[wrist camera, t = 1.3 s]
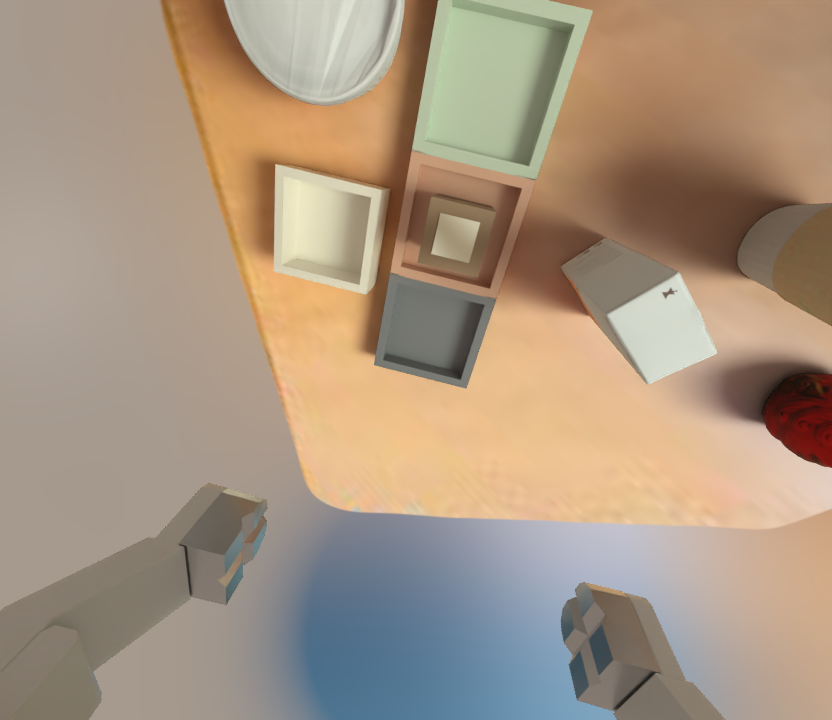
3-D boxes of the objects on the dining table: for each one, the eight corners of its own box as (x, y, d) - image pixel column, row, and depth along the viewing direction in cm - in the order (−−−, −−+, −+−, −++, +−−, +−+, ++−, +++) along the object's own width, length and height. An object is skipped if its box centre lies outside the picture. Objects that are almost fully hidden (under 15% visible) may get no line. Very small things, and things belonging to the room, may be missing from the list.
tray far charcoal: (394, 267, 33) (390, 272, 31) (494, 292, 33) (496, 298, 31) (378, 356, 37) (373, 364, 36) (466, 378, 37) (466, 388, 35)
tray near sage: (444, -9, 24) (442, -24, 22) (583, 23, 24) (592, 10, 22) (415, 152, 28) (411, 150, 27) (531, 180, 28) (536, 180, 26)
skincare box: (557, 266, 31) (602, 312, 20) (605, 235, 29) (681, 268, 19) (590, 320, 33) (647, 387, 22) (637, 293, 31) (723, 353, 20)
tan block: (437, 193, 29) (429, 196, 24) (491, 206, 29) (496, 212, 24) (425, 248, 31) (416, 262, 26) (475, 260, 31) (477, 277, 26)
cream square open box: (295, 165, 30) (275, 163, 27) (390, 188, 30) (381, 189, 27) (291, 263, 34) (273, 271, 31) (375, 284, 34) (366, 294, 31)
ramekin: (422, 105, 27) (412, 89, 22) (286, 125, 29) (251, 114, 24) (405, -112, 22) (388, -190, 17) (243, -71, 24) (188, -132, 19)
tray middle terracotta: (415, 151, 28) (411, 149, 27) (532, 179, 28) (536, 179, 26) (394, 268, 33) (390, 273, 31) (494, 293, 33) (496, 299, 31)
